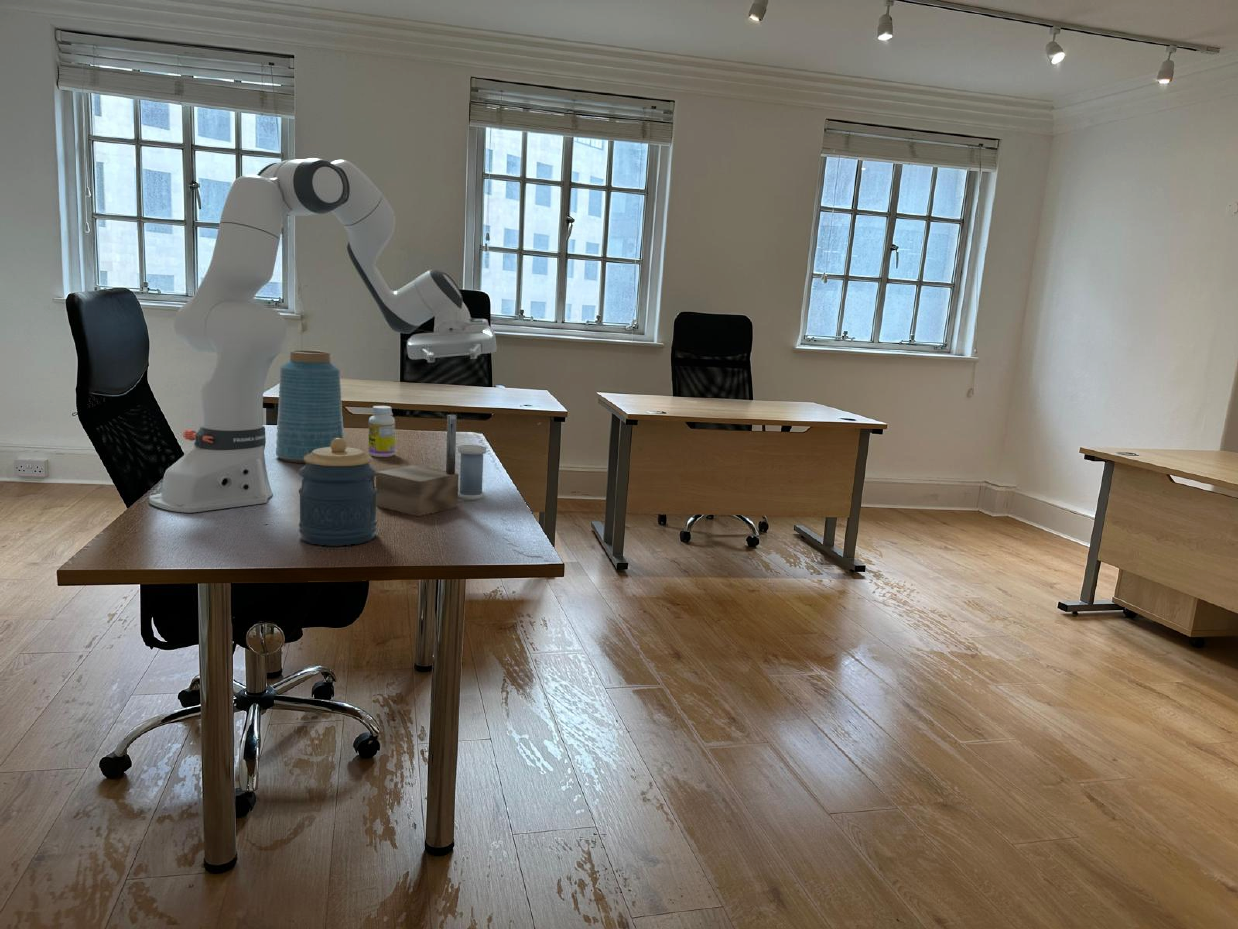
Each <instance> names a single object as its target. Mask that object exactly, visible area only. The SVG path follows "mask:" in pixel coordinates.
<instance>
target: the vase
mask: <svg viewBox="0 0 1238 929" xmlns="http://www.w3.org/2000/svg"><path fill="white" fill-rule="evenodd" d="M289 354H290V356H289V357H290V358H289V361H288V362H286V363H284V364H283V365H281V366H280V369H279V371H280V373H279V387H278V388H279V391H278V406H277V407H278V410H277V412H278V413H277V421H276V423H277V426H276V430H277V431H276V441H275V443H276V447H275V455H276V456H277V457H278V458H279V459H281V460H283V461H284V462H290V463H296V464H306V462H305V461H304V457H305V456H306V455H308V454H310V453H311V452H312V451H313V450H315V449H319V448H326V447H330V444H331V442H332V440H333V439H335V438H342V439H344V437H345V432H344V421H343V406H342V405H343V403H342V392H341V391H342V390H341V387H342V386H341V374H340V372H341V369H340V368H339V367H338V366H337V365H335V364H333V363H332V362H331V354H330V352H329V351H323V350H313V349H312V350H310V349H308V350H307V349H306V350H305V349H300V350H299V349H296V350H291V351H290V353H289Z"/></svg>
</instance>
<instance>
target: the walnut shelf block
mask: <svg viewBox="0 0 1238 929" xmlns="http://www.w3.org/2000/svg"><path fill="white" fill-rule="evenodd" d="M459 477H460V473H456V472H455V474H452V475H450V474H446V470H441V469H437V468H433V467H428V466H423V465H418V464H415V465H407V466H402V467H397V468H389V469H386V470H385V469H384V470H380V471H377V474H376V476H375V487H376V488H377V493H376V507H378V508H383V507H384V509H387V508H388V509H387V510H391V511H395V510H397V511H396V512H398V511H400V512H399V513H402V512H403V513H402V514H406V513H409V514H408V515H410V514H412V515H411V516H414V515H416V516H415V517H418V516H420V517H423V515H424V516H427V515H426V514H428V515H430V514H429V513H432V514H436V513H439V512H438V511H440V512H443V511H442V510H444V511H447V509H448V510H450V508H452V509H455V508H454V507H456V508H458V504H459V499H458V491H459ZM435 512H436V513H435Z"/></svg>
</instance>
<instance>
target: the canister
mask: <svg viewBox="0 0 1238 929" xmlns="http://www.w3.org/2000/svg"><path fill="white" fill-rule="evenodd" d="M304 461H305V462H306V463H305V465H304V466H302V467H300V469H299V470H298V472H297V473H298V475H299V476H300V477H301V487H300V488H298V493H299V523H298V527H299V528H298V532H299V534H300V539H301V540H302V541H303V542H305V543H307V542H308V543H307V544H310V545H311V544H312V545H315V544H318V545H317V546H322V545H326V546H325V547H344V546H343V545H347V546H352V545H351V544H355V545H360V544H364V543H367V542H369V541H371V540H373V539H374V538H375V536H376V532H377V529H378V528H377V525H378V524H377V506H376V493H377V488H376V485H375V478H376V474H377V472H378V470H377V469H376V468H375V467H374V466H372V465H371V462H372V461H373V456H371V455H369V453H366V452H365V451H364V450H363V449H360V448H358V447H357V448H356V447H349V446H347V443H346V441H345V439H344V438H343V439H342V438H335V439H333V440H332V442H331V444H330V447H326V448H319V449H315V450H313V451H312V452H311V453H310V454H308V455H306V456H305V457H304ZM366 541H367V542H366ZM363 542H364V543H363Z"/></svg>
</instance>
